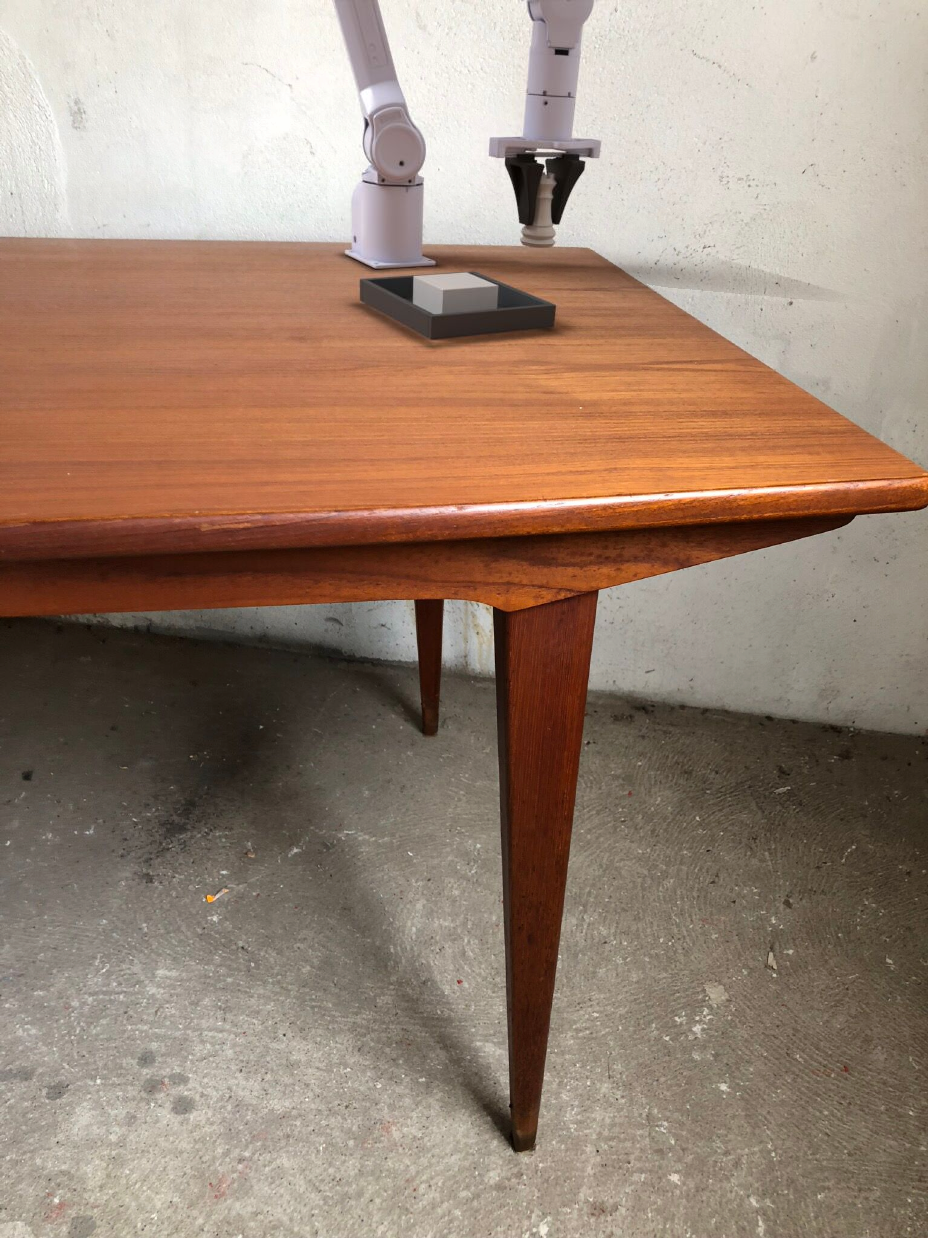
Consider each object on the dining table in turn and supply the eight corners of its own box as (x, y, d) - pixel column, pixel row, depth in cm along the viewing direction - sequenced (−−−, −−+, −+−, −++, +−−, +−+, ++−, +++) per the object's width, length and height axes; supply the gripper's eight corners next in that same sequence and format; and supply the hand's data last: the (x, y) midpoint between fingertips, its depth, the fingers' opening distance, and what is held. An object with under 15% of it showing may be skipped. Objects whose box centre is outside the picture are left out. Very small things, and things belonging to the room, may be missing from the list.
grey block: (412, 307, 89) (413, 275, 88) (465, 303, 92) (467, 272, 90) (441, 322, 85) (443, 289, 83) (496, 317, 87) (498, 285, 86)
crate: (359, 305, 91) (359, 278, 90) (472, 296, 97) (474, 270, 96) (430, 346, 80) (431, 316, 79) (553, 332, 86) (556, 304, 85)
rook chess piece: (553, 249, 110) (560, 176, 106) (516, 246, 110) (522, 173, 106) (557, 243, 114) (564, 172, 109) (522, 240, 114) (527, 169, 110)
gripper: (516, 95, 97) (506, 231, 105) (622, 99, 104) (606, 227, 111) (482, 91, 102) (475, 220, 110) (586, 95, 109) (572, 217, 116)
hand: (539, 223), depth 111 cm, fingers closed on rook chess piece, 3 cm apart
